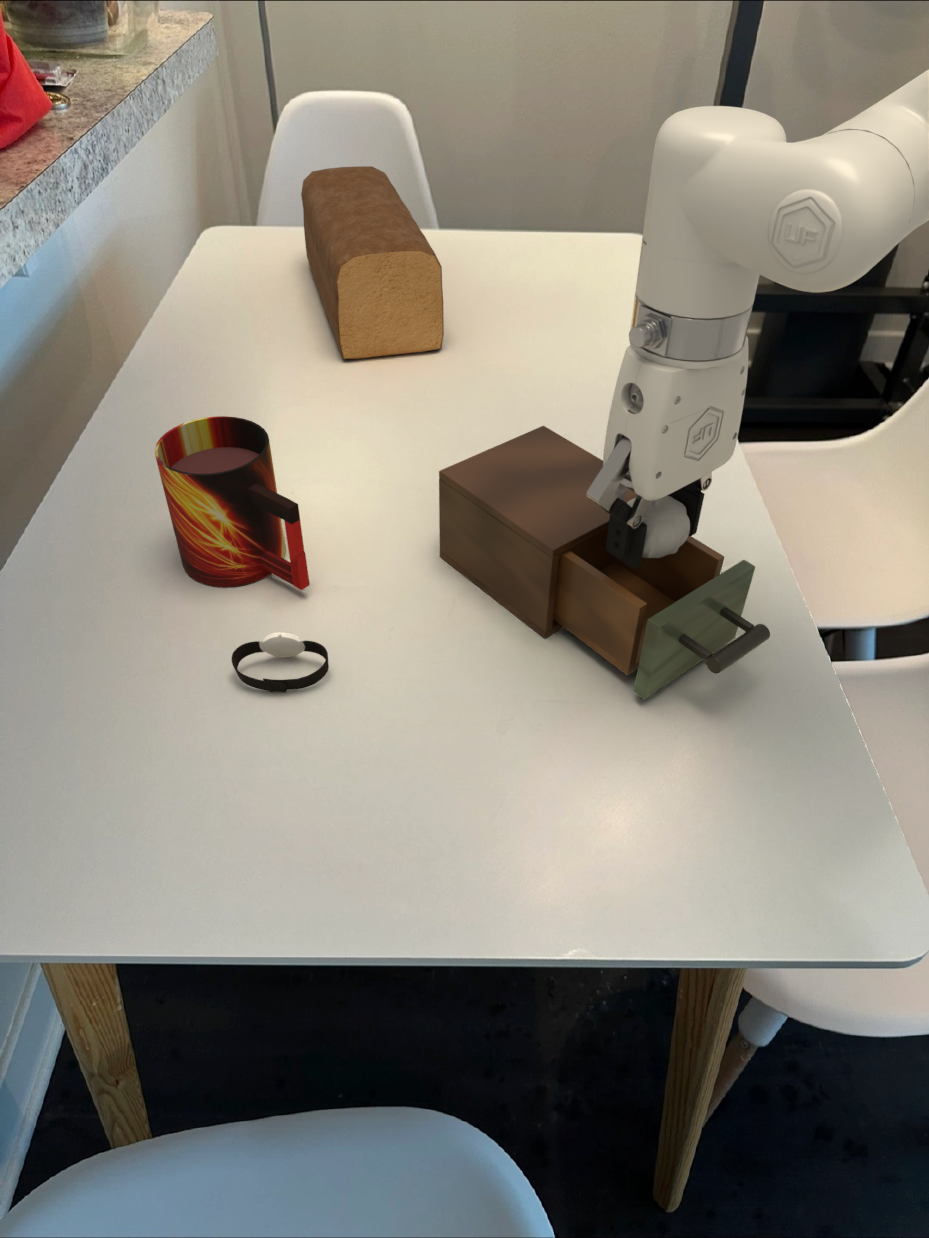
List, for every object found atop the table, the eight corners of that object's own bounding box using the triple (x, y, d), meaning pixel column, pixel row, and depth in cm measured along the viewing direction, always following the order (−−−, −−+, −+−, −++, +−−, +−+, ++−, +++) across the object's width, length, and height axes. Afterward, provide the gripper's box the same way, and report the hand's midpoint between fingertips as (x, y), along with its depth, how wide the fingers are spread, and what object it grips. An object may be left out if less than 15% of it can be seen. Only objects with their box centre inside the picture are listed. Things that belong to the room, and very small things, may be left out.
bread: (339, 364, 115) (329, 250, 106) (305, 264, 140) (294, 164, 130) (446, 353, 118) (446, 241, 109) (395, 256, 143) (391, 158, 133)
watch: (332, 654, 77) (328, 622, 74) (328, 695, 73) (323, 663, 71) (239, 655, 76) (233, 623, 74) (231, 697, 73) (223, 664, 70)
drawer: (776, 665, 75) (801, 593, 70) (685, 731, 70) (704, 658, 64) (619, 560, 85) (630, 490, 80) (528, 611, 80) (534, 540, 74)
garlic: (626, 576, 70) (635, 520, 66) (600, 535, 74) (607, 480, 70) (698, 563, 71) (710, 508, 68) (668, 524, 75) (678, 469, 72)
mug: (307, 601, 82) (292, 489, 74) (164, 579, 84) (134, 467, 76) (341, 537, 89) (330, 428, 81) (207, 518, 91) (184, 410, 83)
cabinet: (644, 580, 84) (660, 493, 78) (544, 639, 78) (553, 550, 72) (536, 508, 93) (543, 425, 86) (439, 556, 87) (438, 470, 80)
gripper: (642, 383, 54) (609, 612, 66) (814, 307, 62) (757, 524, 74) (554, 340, 58) (538, 562, 70) (726, 274, 66) (685, 484, 78)
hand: (651, 541), depth 72 cm, fingers closed on garlic, 5 cm apart
